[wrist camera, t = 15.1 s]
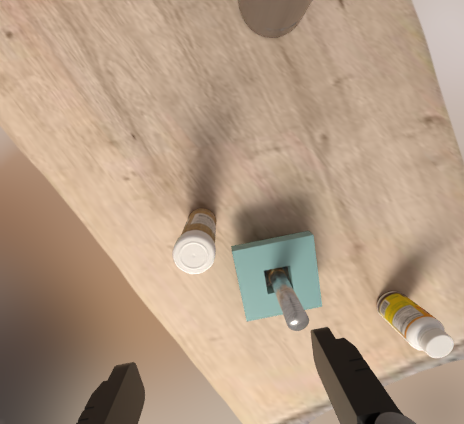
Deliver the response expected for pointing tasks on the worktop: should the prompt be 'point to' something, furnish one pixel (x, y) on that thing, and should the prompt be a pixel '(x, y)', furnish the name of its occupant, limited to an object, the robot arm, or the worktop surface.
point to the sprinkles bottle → (196, 243)
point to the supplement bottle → (415, 324)
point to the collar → (270, 257)
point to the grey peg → (287, 298)
